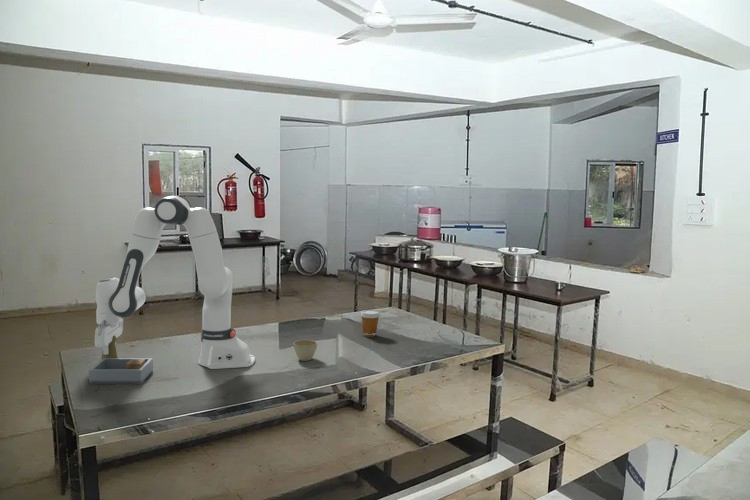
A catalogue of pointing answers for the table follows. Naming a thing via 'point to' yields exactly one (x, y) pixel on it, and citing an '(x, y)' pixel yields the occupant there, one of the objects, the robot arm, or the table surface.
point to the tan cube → (135, 363)
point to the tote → (119, 371)
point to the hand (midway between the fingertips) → (109, 351)
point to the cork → (111, 349)
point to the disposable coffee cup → (369, 321)
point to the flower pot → (305, 349)
